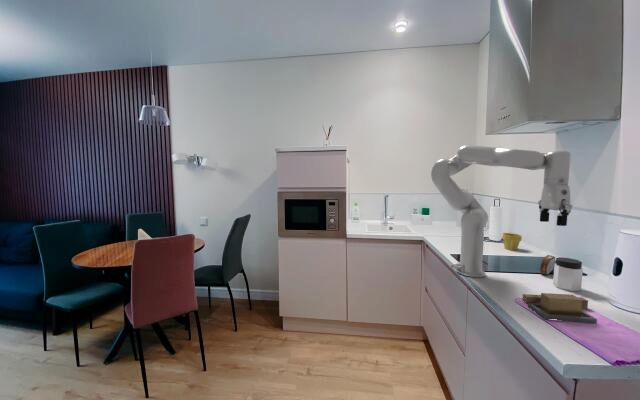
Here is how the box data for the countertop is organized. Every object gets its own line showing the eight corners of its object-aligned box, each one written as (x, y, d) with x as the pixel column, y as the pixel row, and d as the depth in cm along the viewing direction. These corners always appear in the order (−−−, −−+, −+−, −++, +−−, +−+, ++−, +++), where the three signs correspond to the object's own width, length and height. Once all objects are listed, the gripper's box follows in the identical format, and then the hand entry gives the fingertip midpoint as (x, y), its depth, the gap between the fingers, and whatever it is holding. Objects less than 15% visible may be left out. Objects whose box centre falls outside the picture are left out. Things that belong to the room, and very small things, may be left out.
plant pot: (524, 250, 170) (525, 235, 169) (511, 251, 168) (512, 236, 167) (509, 246, 180) (510, 232, 179) (497, 247, 178) (498, 233, 177)
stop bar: (581, 317, 88) (582, 299, 88) (548, 315, 90) (549, 298, 89) (571, 311, 92) (572, 294, 92) (539, 309, 93) (541, 292, 93)
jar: (566, 283, 118) (568, 256, 117) (586, 290, 110) (588, 262, 109) (547, 283, 117) (550, 257, 116) (566, 291, 109) (569, 263, 108)
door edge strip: (526, 304, 98) (527, 296, 98) (522, 301, 100) (522, 293, 100) (587, 308, 95) (588, 300, 95) (581, 305, 97) (582, 297, 97)
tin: (547, 268, 136) (548, 253, 136) (555, 270, 134) (556, 254, 133) (538, 275, 127) (540, 258, 127) (547, 277, 125) (548, 260, 124)
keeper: (545, 320, 87) (545, 315, 87) (528, 306, 96) (528, 302, 96) (596, 323, 85) (597, 319, 85) (574, 309, 94) (574, 305, 94)
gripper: (584, 182, 98) (580, 227, 99) (550, 181, 115) (547, 220, 116) (561, 182, 99) (557, 227, 100) (531, 181, 116) (529, 219, 118)
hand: (552, 223), depth 108 cm, fingers open, 9 cm apart
